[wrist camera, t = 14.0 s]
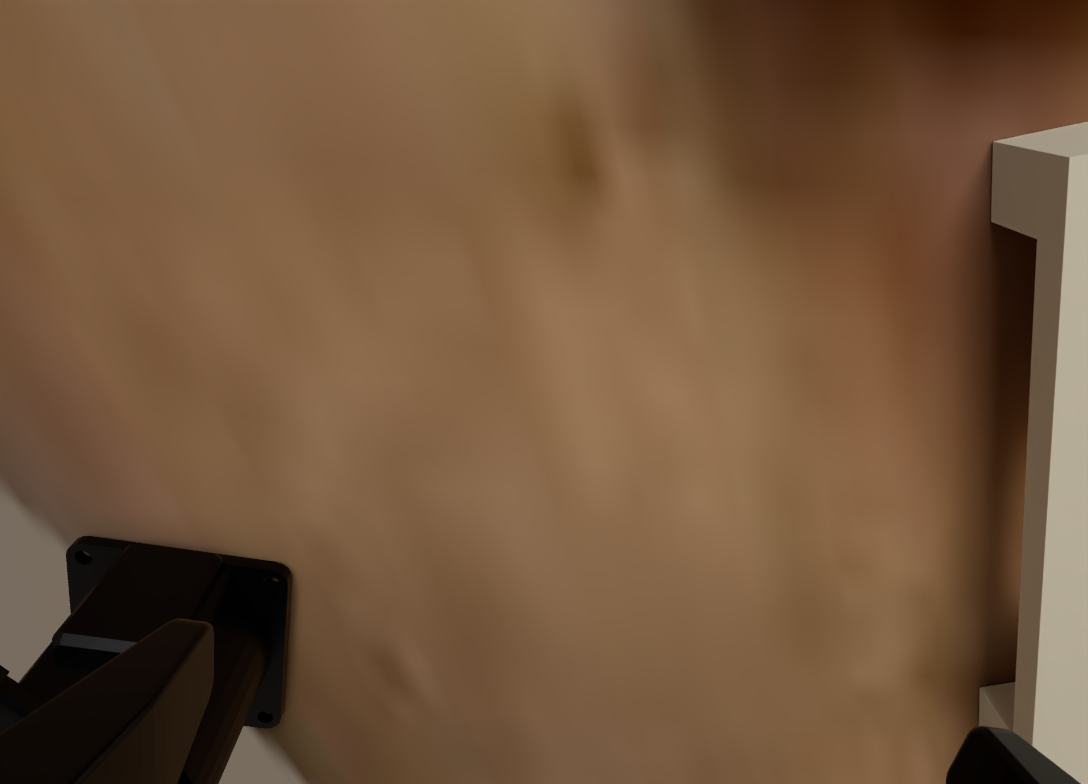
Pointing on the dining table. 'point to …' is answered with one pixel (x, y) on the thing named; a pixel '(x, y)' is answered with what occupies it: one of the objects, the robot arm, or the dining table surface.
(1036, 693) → the keyhole plate
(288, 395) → the dining table surface
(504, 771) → the dining table surface
